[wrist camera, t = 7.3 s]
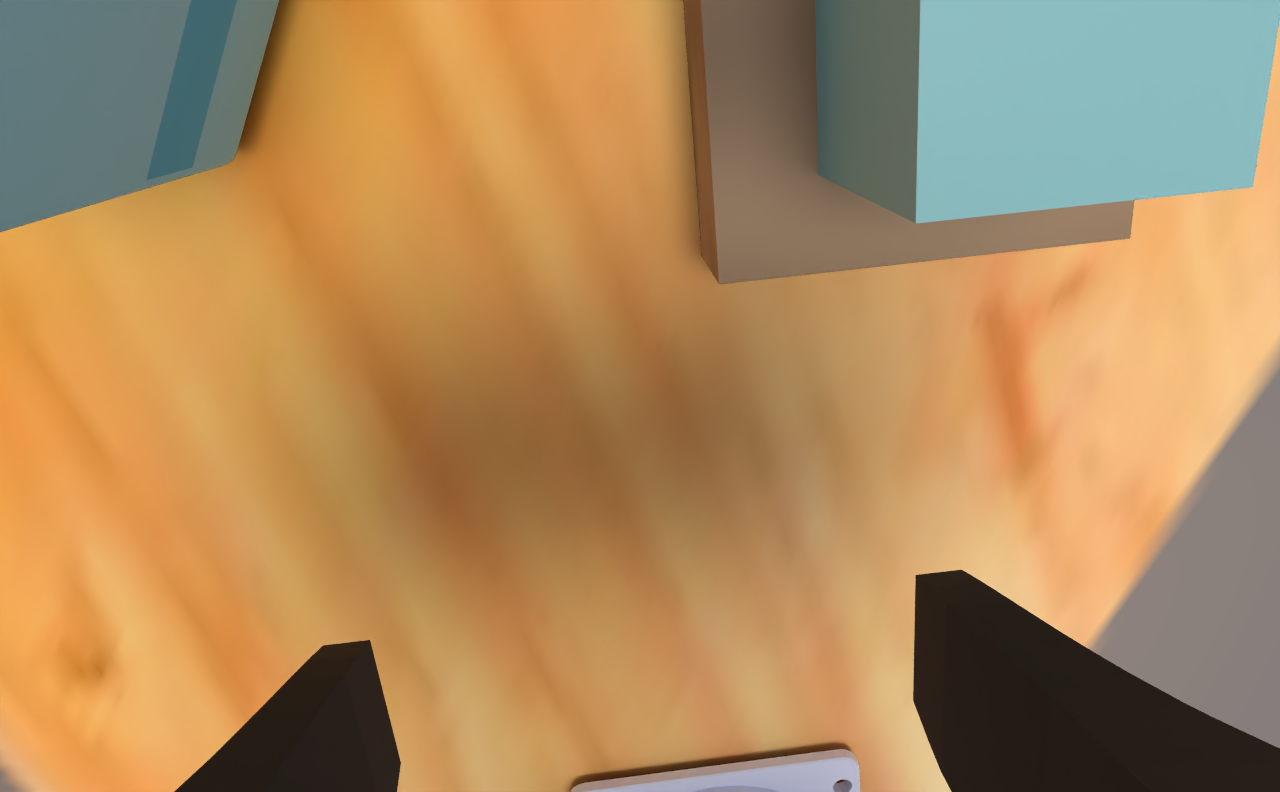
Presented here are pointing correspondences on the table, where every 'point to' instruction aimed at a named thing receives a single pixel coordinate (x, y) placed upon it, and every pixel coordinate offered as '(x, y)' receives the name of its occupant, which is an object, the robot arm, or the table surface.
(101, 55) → the data package
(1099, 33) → the teal block
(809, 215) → the walnut block
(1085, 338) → the table surface
